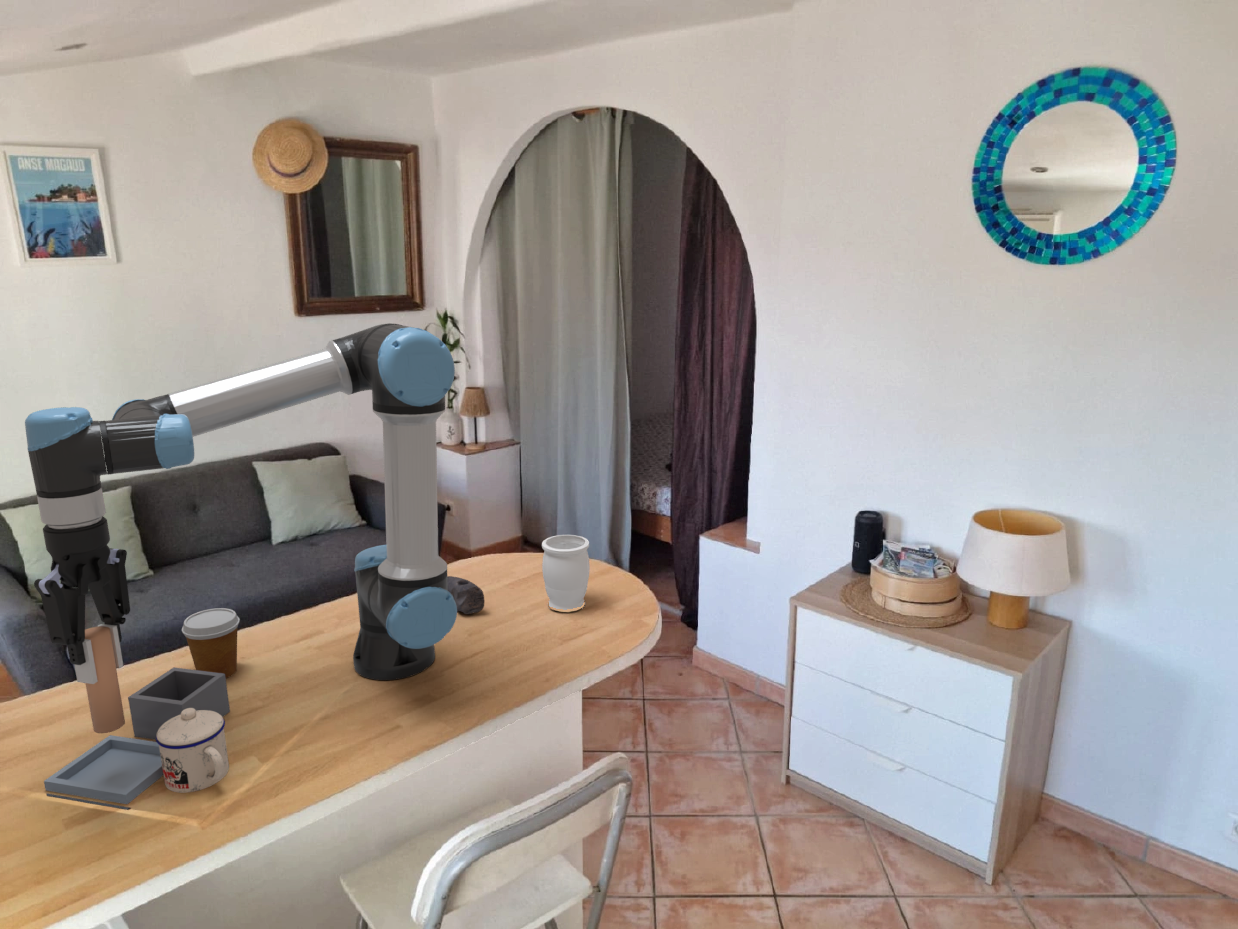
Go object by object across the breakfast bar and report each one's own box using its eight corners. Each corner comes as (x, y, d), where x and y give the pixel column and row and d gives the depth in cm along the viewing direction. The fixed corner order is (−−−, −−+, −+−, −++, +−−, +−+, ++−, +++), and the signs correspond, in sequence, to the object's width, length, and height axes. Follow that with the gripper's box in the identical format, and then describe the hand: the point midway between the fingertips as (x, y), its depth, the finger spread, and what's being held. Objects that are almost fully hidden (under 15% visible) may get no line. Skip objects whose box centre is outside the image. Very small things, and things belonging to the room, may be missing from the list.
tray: (188, 760, 129) (186, 746, 128) (128, 810, 118) (125, 795, 117) (112, 749, 132) (110, 735, 131) (46, 796, 121) (43, 781, 120)
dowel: (131, 720, 124) (116, 628, 120) (110, 735, 120) (93, 640, 117) (108, 716, 125) (93, 625, 121) (86, 731, 121) (70, 637, 117)
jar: (588, 616, 180) (588, 550, 176) (540, 615, 180) (539, 550, 176) (591, 596, 190) (590, 534, 186) (545, 595, 190) (544, 533, 186)
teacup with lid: (152, 784, 123) (140, 714, 121) (211, 755, 131) (202, 688, 128) (194, 815, 117) (183, 742, 114) (254, 782, 124) (245, 713, 121)
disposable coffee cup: (224, 693, 149) (216, 631, 146) (177, 687, 150) (168, 627, 147) (257, 667, 158) (249, 609, 155) (212, 662, 159) (204, 605, 156)
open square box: (230, 716, 141) (225, 673, 139) (188, 750, 132) (182, 704, 130) (180, 709, 143) (173, 667, 141) (135, 741, 134) (127, 697, 132)
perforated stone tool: (432, 600, 188) (430, 571, 186) (452, 593, 191) (451, 565, 190) (466, 622, 177) (464, 591, 175) (487, 615, 180) (486, 585, 179)
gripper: (101, 501, 123) (124, 644, 129) (-5, 538, 107) (27, 701, 113) (144, 504, 122) (166, 650, 128) (43, 543, 106) (72, 707, 112)
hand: (100, 673), depth 120 cm, fingers closed on dowel, 4 cm apart
